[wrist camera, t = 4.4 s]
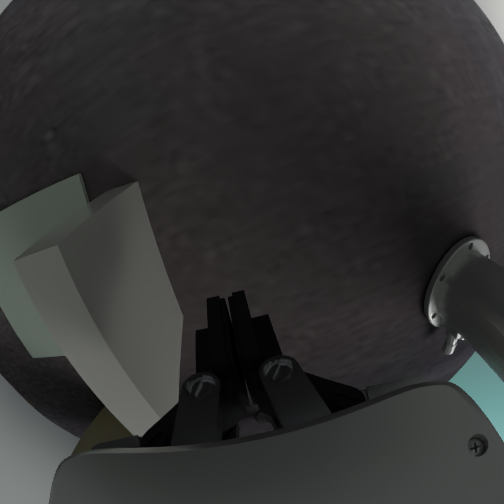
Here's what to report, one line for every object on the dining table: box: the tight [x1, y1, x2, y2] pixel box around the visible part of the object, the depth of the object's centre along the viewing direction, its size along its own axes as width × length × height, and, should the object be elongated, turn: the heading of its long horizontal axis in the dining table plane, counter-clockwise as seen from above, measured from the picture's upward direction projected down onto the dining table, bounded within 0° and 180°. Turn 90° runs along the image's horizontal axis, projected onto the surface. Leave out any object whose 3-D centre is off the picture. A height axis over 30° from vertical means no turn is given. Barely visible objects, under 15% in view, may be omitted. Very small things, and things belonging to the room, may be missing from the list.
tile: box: [13, 181, 183, 437], centre depth 15 cm, size 12×3×12 cm, turn 10°
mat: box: [0, 173, 89, 358], centre depth 20 cm, size 16×16×1 cm
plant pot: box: [72, 406, 134, 455], centre depth 21 cm, size 15×15×16 cm
